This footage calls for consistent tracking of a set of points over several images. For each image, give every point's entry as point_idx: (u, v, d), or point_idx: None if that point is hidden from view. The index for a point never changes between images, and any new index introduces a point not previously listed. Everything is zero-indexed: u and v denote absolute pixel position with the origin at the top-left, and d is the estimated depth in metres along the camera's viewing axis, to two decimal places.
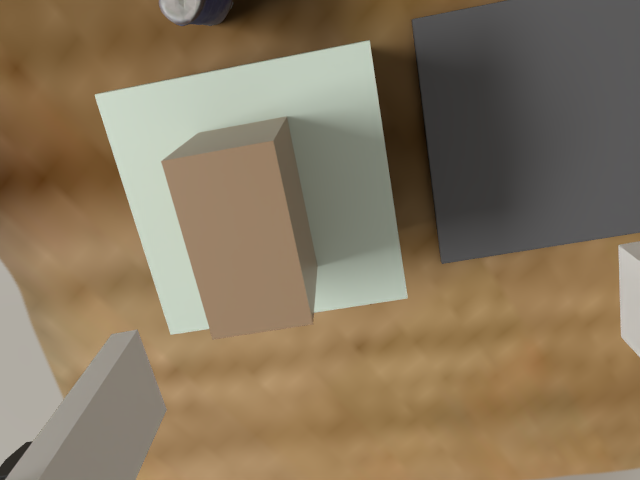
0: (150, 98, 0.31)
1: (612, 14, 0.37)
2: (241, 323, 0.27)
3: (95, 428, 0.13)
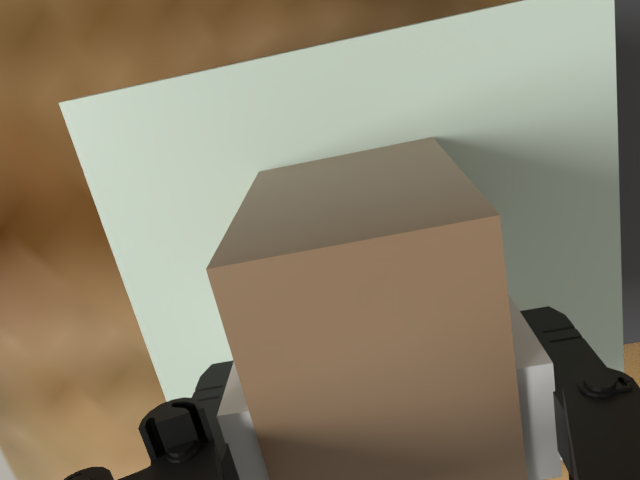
0: (167, 108, 0.16)
1: None
2: None
3: None
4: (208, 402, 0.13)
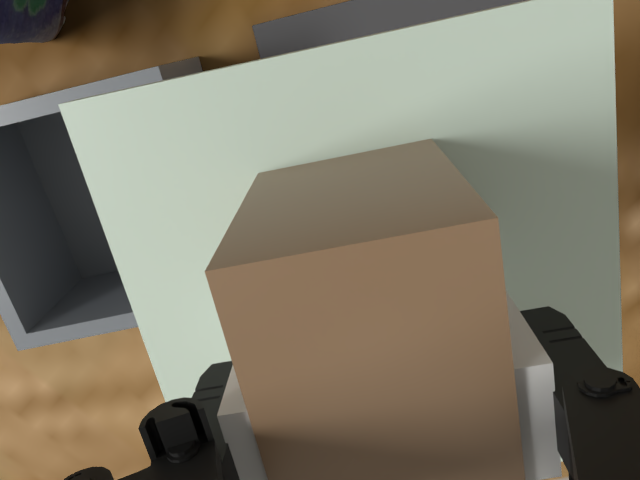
0: (166, 109, 0.16)
1: (462, 10, 0.35)
2: None
3: None
4: (208, 402, 0.13)
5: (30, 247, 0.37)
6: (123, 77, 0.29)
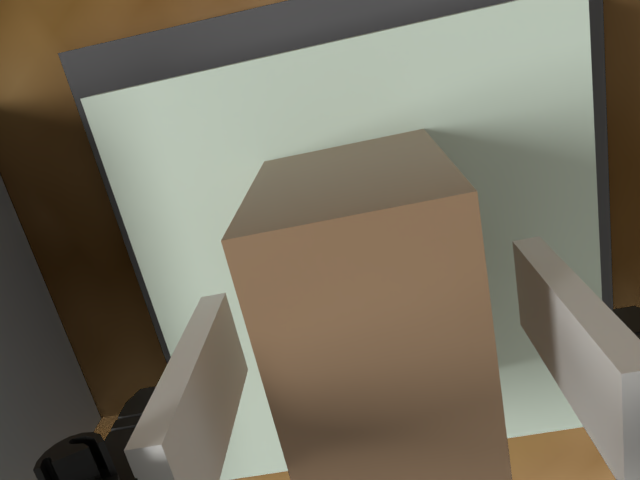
0: (179, 103, 0.17)
1: None
2: None
3: (206, 375, 0.14)
4: (127, 431, 0.12)
5: None
6: None
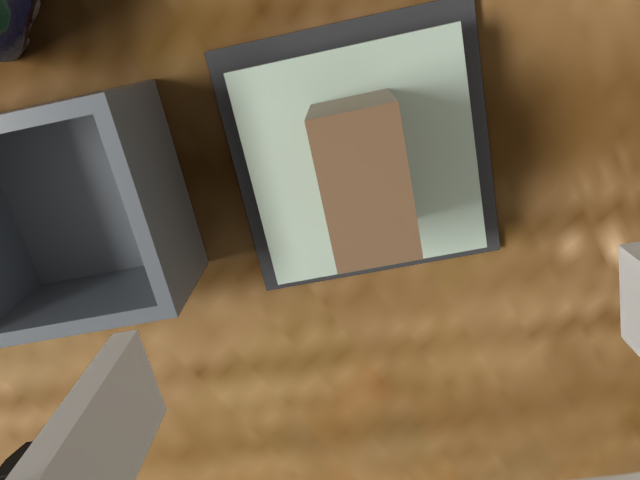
0: (271, 75, 0.36)
1: None
2: (362, 259, 0.32)
3: (95, 427, 0.13)
4: None
5: None
6: (72, 101, 0.31)
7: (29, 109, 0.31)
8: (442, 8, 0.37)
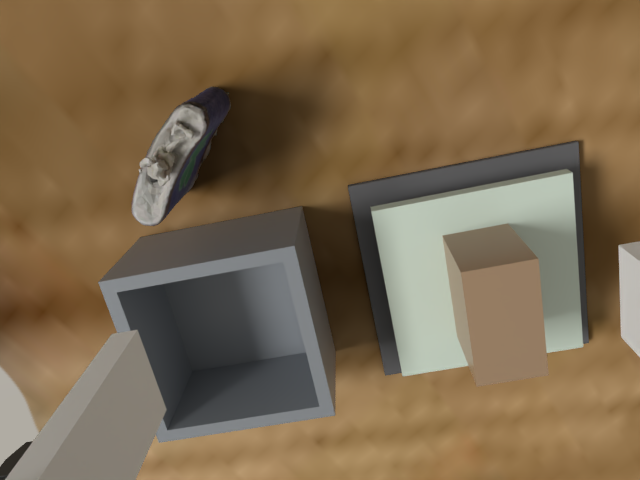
0: (411, 213, 0.43)
1: None
2: (498, 375, 0.40)
3: (95, 428, 0.13)
4: None
5: (165, 356, 0.46)
6: (267, 252, 0.38)
7: (231, 258, 0.38)
8: (551, 154, 0.44)
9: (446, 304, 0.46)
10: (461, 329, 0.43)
